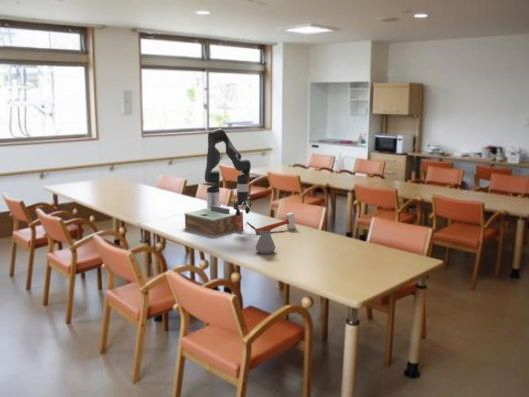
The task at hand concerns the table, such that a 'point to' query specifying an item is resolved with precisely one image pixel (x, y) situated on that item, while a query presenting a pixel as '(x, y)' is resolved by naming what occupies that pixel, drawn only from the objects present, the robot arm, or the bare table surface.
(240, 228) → the pin
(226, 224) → the toolbox
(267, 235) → the coffee pot
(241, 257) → the table surface
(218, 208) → the toolbox lid
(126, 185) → the table surface
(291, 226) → the mallet
